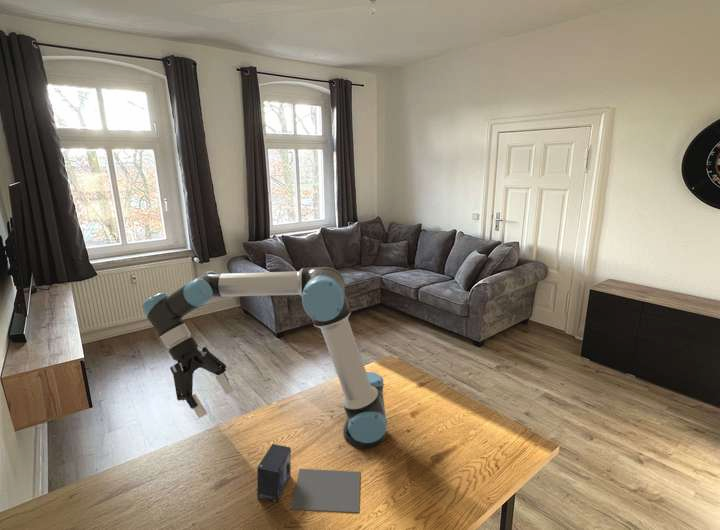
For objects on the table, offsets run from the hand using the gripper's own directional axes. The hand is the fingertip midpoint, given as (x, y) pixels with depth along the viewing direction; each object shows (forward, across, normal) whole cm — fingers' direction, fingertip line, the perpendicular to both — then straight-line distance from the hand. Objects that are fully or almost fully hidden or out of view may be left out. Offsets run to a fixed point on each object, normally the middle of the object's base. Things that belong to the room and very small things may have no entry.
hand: (217, 403), depth 115 cm
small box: (+30, 0, +2) cm, 30 cm away
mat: (+38, -3, +15) cm, 41 cm away
